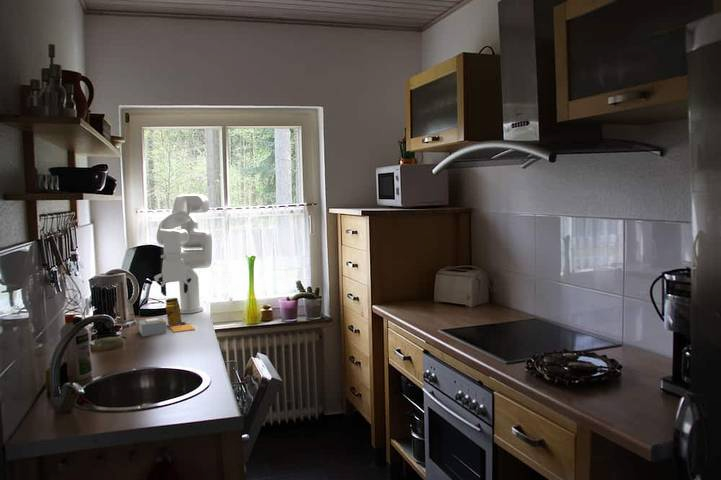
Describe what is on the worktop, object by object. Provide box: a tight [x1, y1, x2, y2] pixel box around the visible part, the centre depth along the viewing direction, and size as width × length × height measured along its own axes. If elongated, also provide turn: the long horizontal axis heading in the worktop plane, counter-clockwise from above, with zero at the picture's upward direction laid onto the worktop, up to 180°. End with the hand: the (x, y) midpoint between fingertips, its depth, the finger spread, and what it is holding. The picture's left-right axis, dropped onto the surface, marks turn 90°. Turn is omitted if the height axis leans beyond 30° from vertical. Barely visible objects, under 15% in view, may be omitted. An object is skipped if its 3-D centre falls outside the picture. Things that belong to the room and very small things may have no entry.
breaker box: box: [138, 317, 167, 337], centre depth 264 cm, size 10×10×5 cm
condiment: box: [165, 297, 188, 327], centre depth 278 cm, size 7×8×12 cm
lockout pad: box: [169, 323, 196, 333], centre depth 269 cm, size 11×9×1 cm
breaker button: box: [144, 317, 159, 323], centre depth 264 cm, size 5×5×4 cm
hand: (174, 293), depth 276 cm, fingers open, 9 cm apart
